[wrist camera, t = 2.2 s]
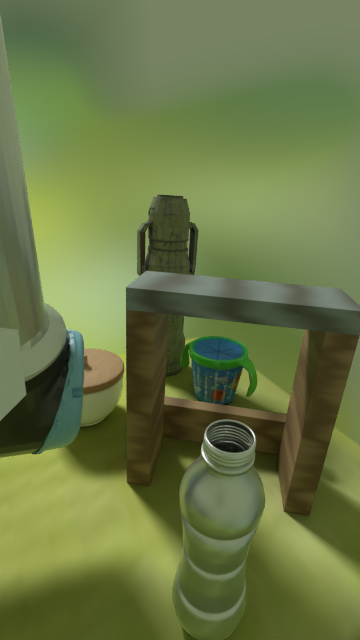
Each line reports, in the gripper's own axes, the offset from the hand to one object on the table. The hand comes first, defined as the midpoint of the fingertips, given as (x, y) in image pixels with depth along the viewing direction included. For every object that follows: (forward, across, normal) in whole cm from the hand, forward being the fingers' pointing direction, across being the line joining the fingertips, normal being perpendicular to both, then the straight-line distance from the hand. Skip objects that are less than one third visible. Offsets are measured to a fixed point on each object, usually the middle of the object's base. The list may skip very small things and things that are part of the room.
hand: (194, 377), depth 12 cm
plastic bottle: (+10, +2, -30) cm, 31 cm away
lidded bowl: (+35, -19, -28) cm, 49 cm away
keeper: (+27, +3, -29) cm, 40 cm away
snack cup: (+44, +3, -28) cm, 53 cm away
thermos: (+54, -8, -28) cm, 61 cm away
